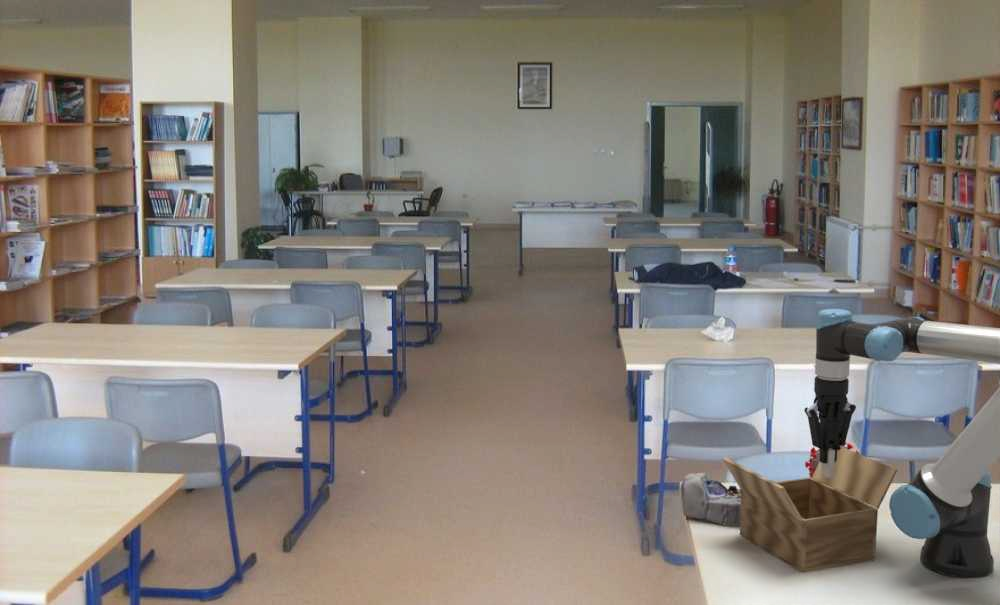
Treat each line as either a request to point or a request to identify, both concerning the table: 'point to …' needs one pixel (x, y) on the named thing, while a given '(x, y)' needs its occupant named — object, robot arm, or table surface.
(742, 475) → the left flap
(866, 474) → the right flap
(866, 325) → the robot arm
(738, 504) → the cell model
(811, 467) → the virus model
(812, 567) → the carton
